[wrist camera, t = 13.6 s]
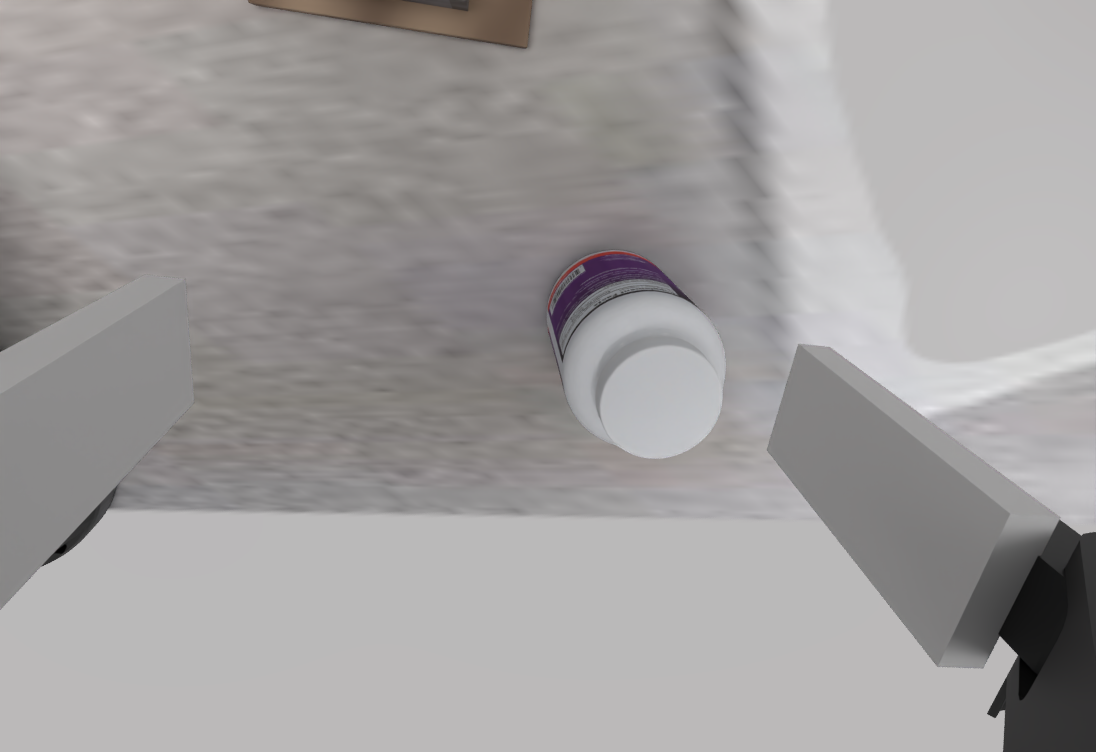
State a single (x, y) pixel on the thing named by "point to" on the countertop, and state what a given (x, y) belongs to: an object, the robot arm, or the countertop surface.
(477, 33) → the bracket board
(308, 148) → the countertop surface
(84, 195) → the countertop surface
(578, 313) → the pill bottle
